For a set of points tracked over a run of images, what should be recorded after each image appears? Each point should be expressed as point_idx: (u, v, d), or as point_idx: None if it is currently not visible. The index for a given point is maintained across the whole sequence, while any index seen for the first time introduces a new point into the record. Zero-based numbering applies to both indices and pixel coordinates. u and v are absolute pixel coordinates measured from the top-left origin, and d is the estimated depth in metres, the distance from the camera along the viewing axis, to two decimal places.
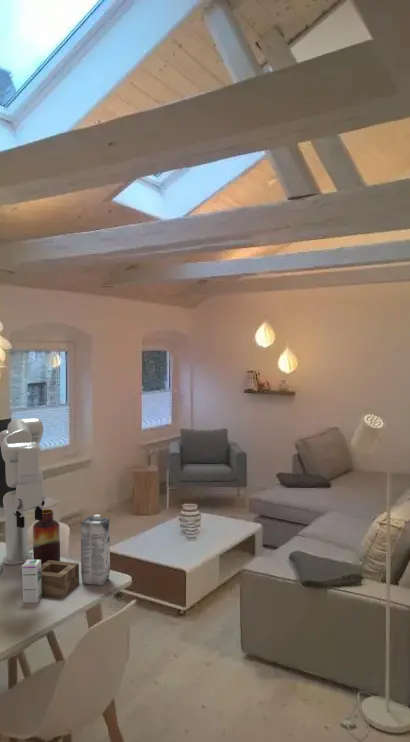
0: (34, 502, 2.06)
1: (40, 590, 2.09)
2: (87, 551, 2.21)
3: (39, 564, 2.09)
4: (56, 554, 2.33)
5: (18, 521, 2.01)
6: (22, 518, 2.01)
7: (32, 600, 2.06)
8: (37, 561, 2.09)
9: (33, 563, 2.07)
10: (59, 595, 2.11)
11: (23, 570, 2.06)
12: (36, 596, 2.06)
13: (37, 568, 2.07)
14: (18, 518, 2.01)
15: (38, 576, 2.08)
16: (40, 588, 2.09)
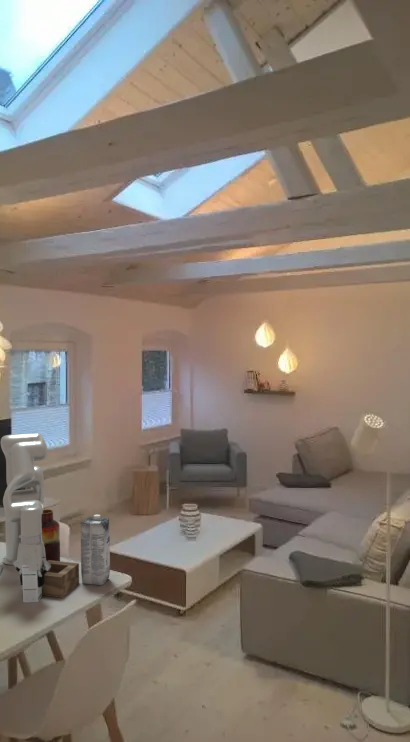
0: None
1: (40, 590, 2.09)
2: (87, 551, 2.21)
3: None
4: (56, 554, 2.33)
5: (43, 580, 2.08)
6: (43, 575, 2.09)
7: (32, 600, 2.06)
8: None
9: None
10: (59, 595, 2.11)
11: (23, 570, 2.06)
12: (36, 596, 2.06)
13: None
14: (43, 577, 2.08)
15: (38, 576, 2.07)
16: (40, 588, 2.09)
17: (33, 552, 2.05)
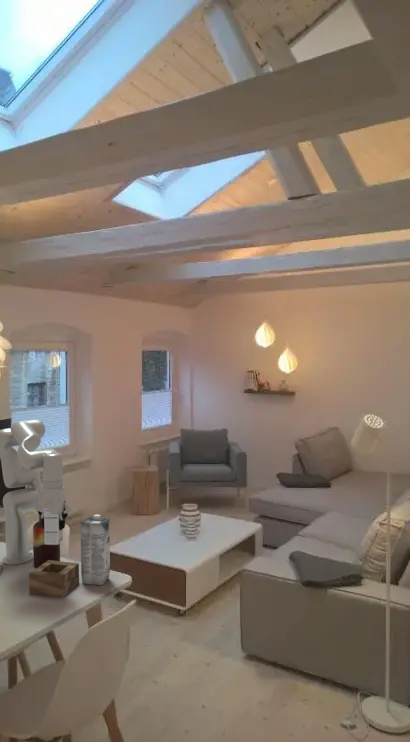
0: None
1: (60, 534, 2.18)
2: (87, 551, 2.21)
3: None
4: (56, 554, 2.33)
5: (63, 523, 2.17)
6: None
7: (53, 542, 2.15)
8: None
9: None
10: (59, 595, 2.11)
11: (45, 513, 2.15)
12: (57, 538, 2.15)
13: None
14: (63, 520, 2.17)
15: None
16: (60, 532, 2.18)
17: (55, 496, 2.14)
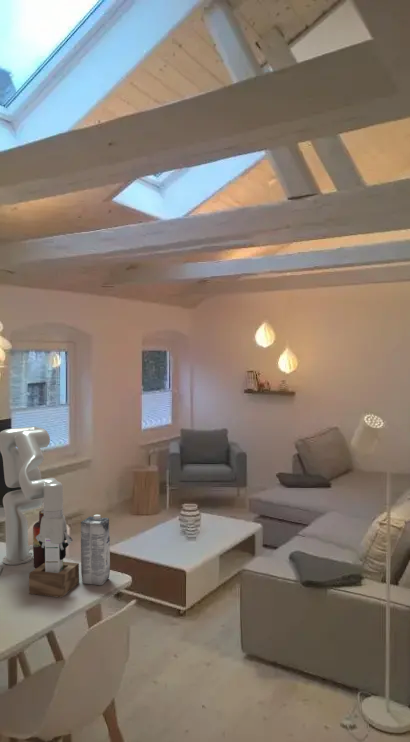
0: None
1: (61, 563, 2.19)
2: (87, 551, 2.21)
3: None
4: None
5: (64, 553, 2.17)
6: None
7: (54, 572, 2.16)
8: None
9: None
10: (59, 595, 2.11)
11: (46, 543, 2.15)
12: (57, 568, 2.16)
13: None
14: (64, 550, 2.17)
15: (60, 549, 2.17)
16: (61, 561, 2.18)
17: (55, 526, 2.15)
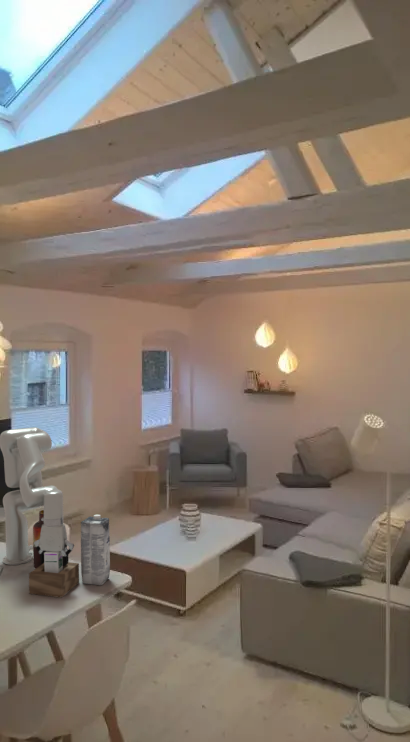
0: None
1: None
2: (87, 551, 2.21)
3: (60, 552, 2.19)
4: None
5: (67, 559, 2.17)
6: None
7: None
8: None
9: None
10: (59, 595, 2.11)
11: (45, 557, 2.16)
12: None
13: (58, 556, 2.16)
14: (67, 556, 2.17)
15: (59, 563, 2.17)
16: None
17: (55, 534, 2.15)
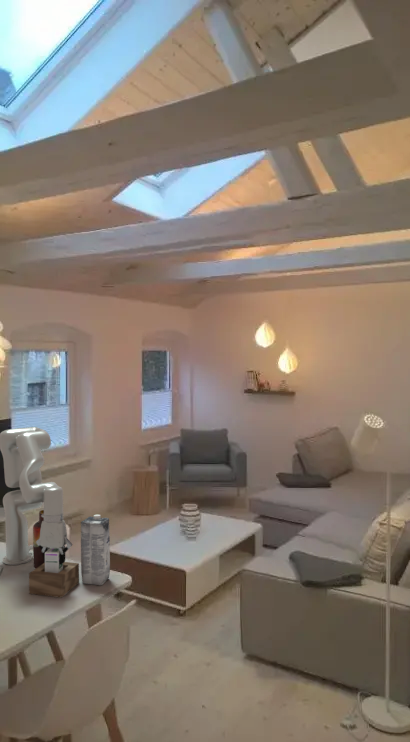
0: None
1: None
2: (87, 551, 2.21)
3: None
4: None
5: (64, 557, 2.17)
6: None
7: None
8: None
9: (55, 551, 2.17)
10: (59, 595, 2.11)
11: (46, 557, 2.16)
12: None
13: None
14: (64, 554, 2.17)
15: None
16: None
17: (55, 530, 2.15)
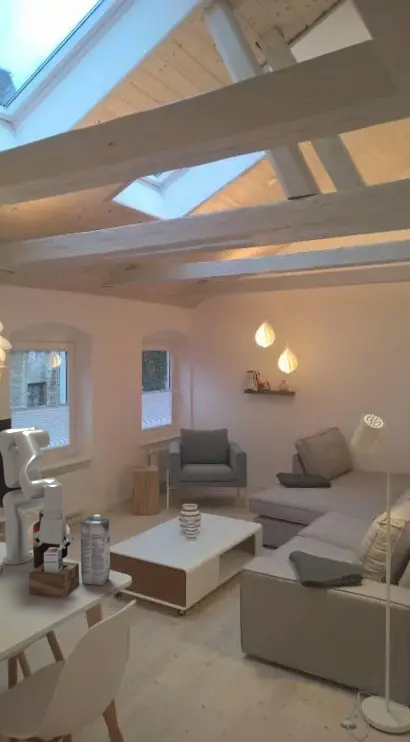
0: None
1: None
2: (87, 551, 2.21)
3: (60, 552, 2.19)
4: None
5: (66, 551, 2.17)
6: None
7: None
8: (58, 549, 2.19)
9: (54, 551, 2.17)
10: (59, 595, 2.11)
11: (45, 557, 2.16)
12: None
13: (58, 556, 2.16)
14: (66, 549, 2.17)
15: (59, 563, 2.17)
16: None
17: (55, 526, 2.15)
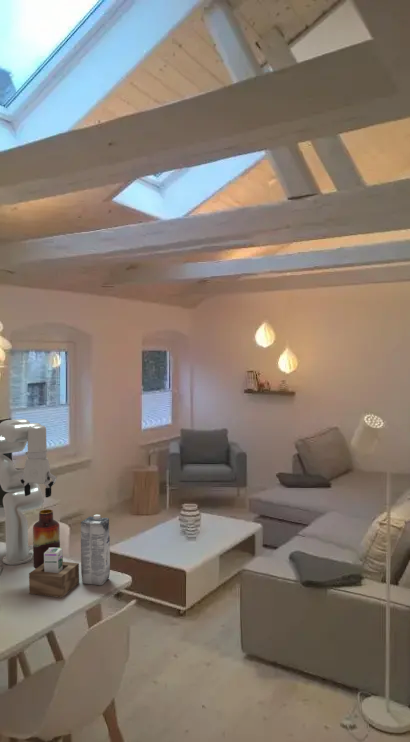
0: None
1: None
2: (87, 551, 2.21)
3: (60, 552, 2.19)
4: None
5: (50, 491, 2.27)
6: (50, 488, 2.28)
7: None
8: (58, 549, 2.19)
9: (54, 551, 2.17)
10: (59, 595, 2.11)
11: (45, 557, 2.16)
12: None
13: (58, 556, 2.16)
14: (50, 488, 2.27)
15: (59, 563, 2.17)
16: None
17: (39, 466, 2.25)
